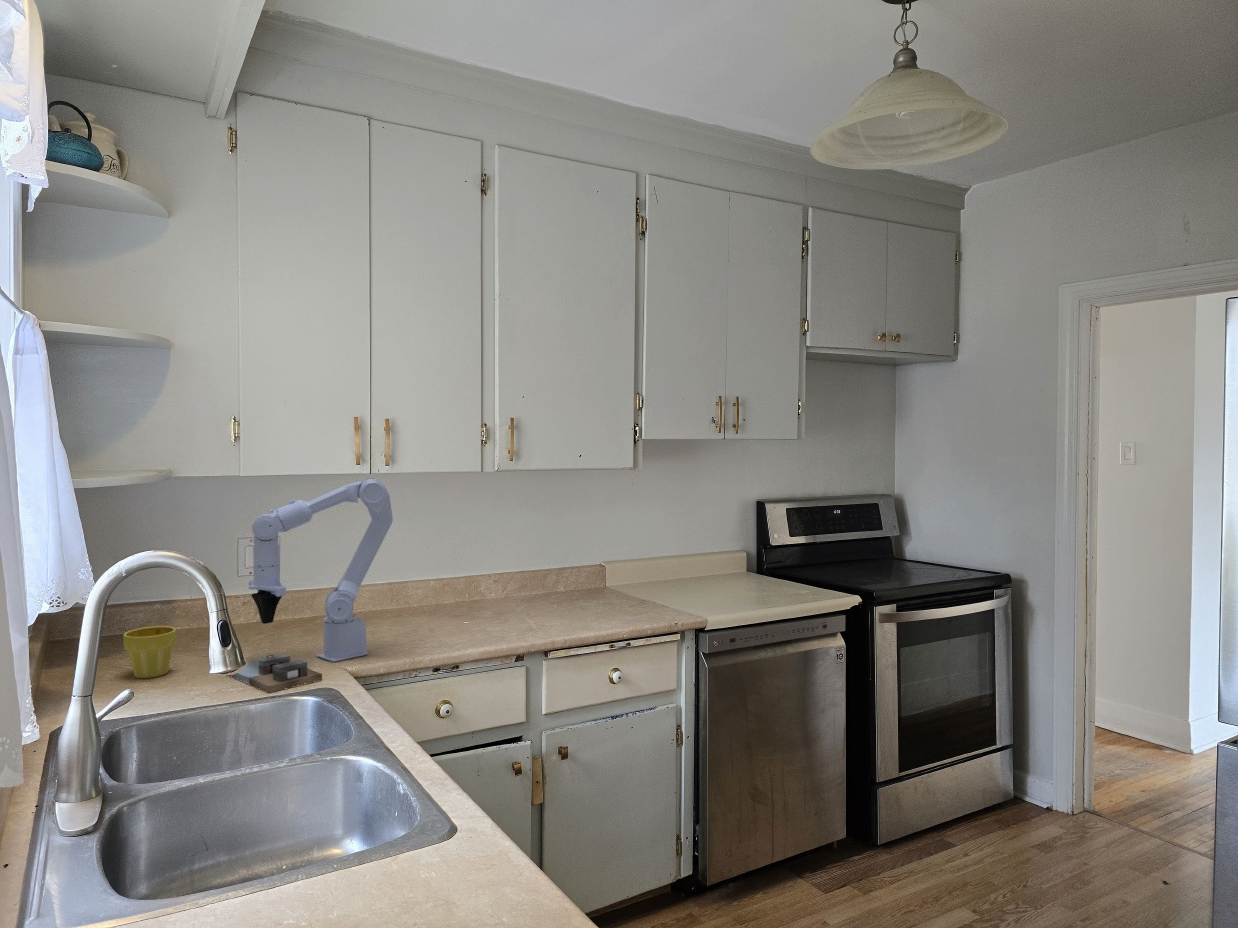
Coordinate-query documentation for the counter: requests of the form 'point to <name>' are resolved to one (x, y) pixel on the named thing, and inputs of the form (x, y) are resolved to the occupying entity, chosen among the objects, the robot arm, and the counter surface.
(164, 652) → the plant pot
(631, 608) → the counter surface
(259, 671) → the door and jamb
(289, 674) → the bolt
